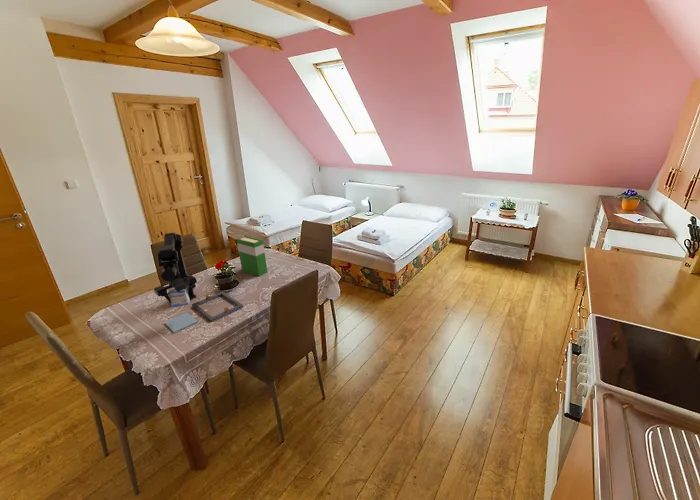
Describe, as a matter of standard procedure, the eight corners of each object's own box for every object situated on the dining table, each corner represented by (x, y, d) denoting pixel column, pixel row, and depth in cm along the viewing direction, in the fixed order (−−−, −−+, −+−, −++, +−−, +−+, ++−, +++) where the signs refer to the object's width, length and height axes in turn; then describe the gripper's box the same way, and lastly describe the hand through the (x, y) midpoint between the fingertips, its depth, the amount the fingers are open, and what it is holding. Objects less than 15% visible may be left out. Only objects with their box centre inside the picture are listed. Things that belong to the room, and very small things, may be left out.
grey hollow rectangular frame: (192, 306, 182) (190, 301, 181) (222, 293, 194) (221, 288, 193) (211, 322, 167) (210, 316, 165) (243, 307, 179) (242, 301, 178)
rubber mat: (164, 323, 167) (164, 322, 167) (188, 313, 175) (187, 312, 175) (174, 333, 159) (174, 331, 159) (198, 322, 167) (197, 321, 167)
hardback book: (242, 270, 224) (236, 239, 215) (250, 266, 229) (245, 235, 220) (259, 276, 215) (254, 243, 206) (267, 272, 220) (262, 239, 211)
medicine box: (171, 307, 161) (167, 292, 158) (173, 303, 165) (169, 288, 162) (188, 304, 163) (184, 290, 160) (190, 300, 167) (186, 286, 164)
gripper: (158, 284, 146) (166, 313, 152) (198, 270, 159) (204, 297, 165) (149, 277, 153) (158, 305, 159) (188, 264, 166) (195, 290, 172)
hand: (179, 299), depth 163 cm, fingers closed on medicine box, 9 cm apart
